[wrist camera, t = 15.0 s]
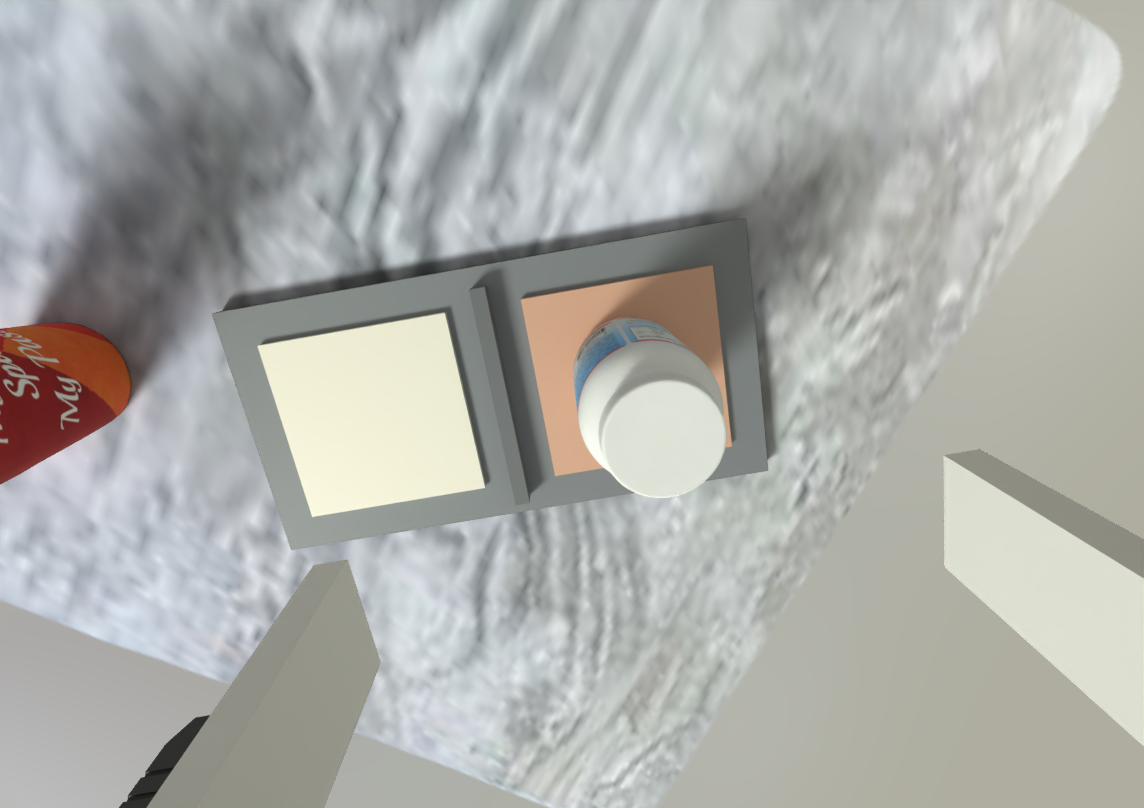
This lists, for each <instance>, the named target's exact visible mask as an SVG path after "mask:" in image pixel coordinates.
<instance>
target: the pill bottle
mask: <svg viewBox="0 0 1144 808" xmlns="http://www.w3.org/2000/svg"><path fill="white" fill-rule="evenodd" d="M573 384H574V391H575V399H576V406H577V414H578V422H579V428H580V431H581V435H582V438H583V440H584V443H585V445H586V447H587V448H588V450H589V452H590V453H591V455H592V456H593V457H594V458H595V460H596V461H597V462H598V463H599V464H600V465H601V466H602V467H603V468H605V469H606V470H607V471H609V472H610V473H611V474H612V475H613V476H614V477H615V479H616V480H617V481H618V482H619V483H620V484H622V485H623V486H624V487H626V488H627V489H629V490H631V491H633V492H635V493H637V494H640V495H643V496H647V497H653V498H668V497H674V496H678V495H682V494H685V493H687V492H689V491H691V490H693V489H695V488H696V487H698V486H699V485H701V484H702V483H703V482H705V481H706V480H707V479H708V478H709V477H710V476H711V475H712V474H713V472H714V471H715V470H716V468H717V466H718V465H719V463H720V461H721V459H722V457H723V454H724V451H725V447H726V440H727V430H726V423H725V419H724V406H723V398H722V394H721V390H720V387H719V385H718V383H717V381H716V379H715V377H714V375H713V373H712V372H711V370H710V369H709V368H708V367H707V366H706V364H705V363H704V362H703V361H702V360H701V359H700V358H699V357H698V356H697V355H695V354H694V353H693V352H692V351H691V350H690V349H689V348H687V347H686V346H685V345H684V344H683V343H682V342H681V341H680V340H678V339H677V338H676V337H675V336H674V335H673V334H672V333H671V332H669V331H668V330H667V329H666V328H664V327H663V326H661V325H660V324H658V323H656V322H654V321H651V320H648V319H645V318H640V317H622V318H617V319H614V320H611V321H608V322H606V323H604V324H602V325H601V326H599V327H597V328H596V329H595V330H594V331H592V332H591V333H590V334H589V335H588V336H587V337H586V339H585V340H584V341H583V343H582V344H581V346H580V348H579V350H578V352H577V354H576V357H575V361H574V366H573Z"/></svg>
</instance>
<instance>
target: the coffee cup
mask: <svg viewBox="0 0 1144 808" xmlns="http://www.w3.org/2000/svg"><path fill="white" fill-rule="evenodd" d="M130 393H131V378H130V373H129V370H128V367H127V365H126V363H125V361H124V359H123V357H122V355H121V354H120V353H119V351H118V350H117V349H116V348H115V346H114V345H113V344H112V343H111V342H110V341H108V340H107V339H106V338H105V337H103V336H102V335H100V334H99V333H97V332H95V331H94V330H92V329H89V328H87V327H84V326H81V325H77V324H71V323H50V324H39V325H29V326H20V327H11V328H3V329H0V484H2V483H4V482H6V481H8V480H10V479H11V478H13V477H15V476H17V475H19V474H21V473H22V472H24V471H26V470H28V469H29V468H31V467H33V466H34V465H36V464H38V463H39V462H41V461H43V460H45V459H47V458H48V457H50V456H52V455H54V454H56V453H57V452H59V451H61V450H63V449H65V448H66V447H68V446H70V445H72V444H74V443H75V442H77V441H79V440H81V439H82V438H84V437H86V436H88V435H89V434H91V433H93V432H95V431H96V430H98V429H100V428H101V427H103V426H105V425H106V424H108V423H109V422H111V421H112V420H114V419H115V418H116V417H117V416H118V415H119V414H120V413H121V412H122V411H123V410H124V408H125V407H126V405H127V403H128V401H129V397H130Z"/></svg>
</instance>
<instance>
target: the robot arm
mask: <svg viewBox="0 0 1144 808" xmlns="http://www.w3.org/2000/svg"><path fill="white" fill-rule="evenodd" d="M944 566H945V568H946V569H948V570H949V571H950V572H951V573H952V574H953V575H954V576H955V577H956V578H958V579H959V580H960V581H961V582H962V583H963V584H964V585H965V586H966V587H968V588H969V589H970V590H971V591H972V592H973V593H974V594H976V596H978V597H979V598H980V599H981V600H982V601H983V602H984V603H985V604H986V605H988V606H989V607H990V608H991V609H992V610H993V611H994V612H996V614H998V615H999V616H1000V617H1001V618H1002V619H1003V620H1004V621H1005V622H1006V623H1008V624H1009V625H1010V626H1011V627H1012V628H1013V629H1014V630H1015V631H1016V632H1018V633H1019V634H1020V635H1021V636H1022V637H1023V638H1024V639H1025V640H1026V641H1028V642H1029V643H1030V644H1031V645H1032V646H1033V647H1034V648H1035V649H1036V650H1037V651H1039V652H1040V653H1041V654H1042V655H1043V656H1044V657H1045V658H1047V660H1049V661H1050V662H1051V663H1052V664H1053V665H1054V666H1056V668H1057V669H1059V670H1060V671H1061V672H1062V673H1063V674H1064V675H1065V676H1066V677H1067V678H1069V679H1070V680H1071V681H1072V682H1073V683H1074V684H1076V686H1077V687H1079V688H1080V689H1081V690H1082V691H1083V692H1084V693H1085V694H1086V695H1087V696H1089V697H1090V698H1091V699H1092V700H1093V701H1094V702H1095V703H1097V705H1099V706H1100V707H1101V708H1102V709H1103V710H1104V711H1105V712H1106V713H1107V714H1108V715H1110V716H1111V717H1112V718H1113V719H1114V720H1115V721H1116V722H1117V723H1118V724H1120V725H1121V726H1122V727H1123V728H1124V729H1125V730H1126V731H1127V732H1129V733H1130V734H1131V735H1132V736H1133V737H1134V738H1135V739H1136V740H1137V741H1138V742H1140V743H1141V744H1142V745H1143V746H1144V539H1142V538H1140V537H1138V536H1137V535H1135V534H1133V533H1131V532H1129V531H1128V530H1126V529H1124V528H1122V527H1120V526H1119V525H1117V524H1115V523H1113V522H1111V521H1109V520H1108V519H1106V518H1104V517H1102V516H1100V515H1099V514H1097V513H1095V512H1093V511H1091V510H1089V509H1087V508H1086V507H1084V506H1082V505H1080V504H1078V503H1077V502H1075V501H1073V500H1071V499H1069V498H1067V497H1066V496H1064V495H1062V494H1060V493H1058V492H1057V491H1055V490H1053V489H1051V488H1049V487H1047V486H1046V485H1044V484H1042V483H1040V482H1038V481H1037V480H1035V479H1033V478H1031V477H1029V476H1028V475H1026V474H1024V473H1022V472H1020V471H1018V470H1017V469H1015V468H1013V467H1011V466H1009V465H1008V464H1006V463H1003V462H1002V461H1000V460H998V459H997V458H995V457H993V456H991V455H989V454H988V453H986V452H984V451H982V450H980V449H978V450H972V451H967V452H961V453H955V454H949V455H944ZM380 663H381V662H380V659H379V656H378V652H377V649H376V646H375V643H374V640H373V637H372V634H371V631H370V628H369V625H368V621H367V618H366V615H365V612H364V609H363V606H362V603H361V600H360V597H359V594H358V590H357V587H356V584H355V581H354V578H353V575H352V572H351V569H350V566H349V563H348V560H342V561H336V562H331V563H325V564H319V565H314V566H313V567H312V569H311V570H310V571H309V573H308V574H307V576H306V577H305V579H304V580H303V582H302V583H301V585H300V586H299V587H298V589H297V590H296V592H295V593H294V595H293V596H292V598H291V599H290V600H289V602H288V603H287V605H286V606H285V608H284V609H283V611H282V612H281V613H280V615H279V616H278V618H277V619H276V621H275V622H274V624H273V625H272V627H271V628H270V629H269V631H268V632H267V634H266V635H265V637H264V638H263V640H262V641H261V642H260V644H259V645H258V647H257V648H256V650H255V651H254V653H253V654H252V656H251V657H250V658H249V660H248V661H247V663H246V664H245V666H244V667H243V669H242V670H241V671H240V673H239V674H238V676H237V677H236V679H235V680H234V682H233V683H232V684H231V686H230V688H229V689H228V690H227V692H226V693H225V695H224V696H223V698H222V699H221V701H220V702H219V703H218V705H217V706H216V708H215V709H214V711H213V712H212V714H211V715H209V716H203V717H198V718H195V719H194V720H192V721H191V722H190V723H189V724H188V725H187V726H186V727H184V728H183V729H182V730H181V731H180V732H179V733H178V734H177V735H175V736H174V737H173V738H172V739H171V740H170V741H169V742H168V743H167V744H166V745H165V746H164V748H163V749H162V750H161V751H160V753H159V754H158V756H157V757H156V758H155V760H154V761H153V762H152V764H151V765H150V767H149V768H148V769H147V771H146V772H145V773H146V775H145V777H143V778H141V779H140V780H139V781H138V783H137V784H136V785H135V787H134V788H133V790H132V791H131V792H130V794H129V795H128V800H127V802H123V803H122V804H121V806H120V807H119V808H324V806H325V804H326V802H327V799H328V796H329V794H330V791H331V789H332V786H333V784H334V781H335V779H336V776H337V773H338V771H339V768H340V766H341V763H342V761H343V758H344V755H345V753H346V750H347V748H348V745H349V742H350V740H351V737H352V735H353V732H354V730H355V727H356V725H357V722H358V720H359V717H360V714H361V712H362V709H363V707H364V704H365V702H366V699H367V696H368V694H369V691H370V689H371V686H372V684H373V681H374V679H375V676H376V673H377V671H378V668H379V666H380Z"/></svg>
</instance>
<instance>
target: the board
mask: <svg viewBox="0 0 1144 808" xmlns="http://www.w3.org/2000/svg"><path fill="white" fill-rule="evenodd" d="M212 316H213V319H214V322H215V325H216V328H217V331H218V334H219V337H220V340H221V343H222V346H223V349H224V352H225V355H226V358H227V361H228V364H229V367H230V370H231V373H232V376H233V379H234V382H235V385H236V388H237V390H238V393H239V396H240V399H241V402H242V405H243V408H244V411H245V414H246V417H247V420H248V423H249V426H250V429H251V432H252V435H253V438H254V441H255V444H256V447H257V450H258V453H259V456H260V459H261V462H262V465H263V468H264V471H265V474H266V477H267V480H268V483H269V485H270V488H271V491H272V494H273V497H274V500H275V503H276V506H277V509H278V512H279V515H280V518H281V521H282V524H283V527H284V530H285V533H286V536H287V539H288V542H289V545H290V548H291V550H295V549H301V548H307V547H313V546H319V545H325V544H331V543H337V542H343V541H349V540H355V539H361V538H367V537H373V536H379V535H385V534H391V533H397V532H403V531H409V530H415V529H421V528H427V527H433V526H439V525H445V524H451V523H457V522H463V521H469V520H475V519H481V518H487V517H493V516H499V515H505V514H511V513H517V512H523V511H529V510H535V509H541V508H547V507H553V506H559V505H565V504H571V503H577V502H583V501H589V500H595V499H601V498H607V497H613V496H619V495H625V494H631V493H635V492H633V491H631V490H629V489H627V488H626V487H624V486H623V485H622V484H620V483H619V482H618V481H617V480H616V479H615V477H614V476H613V475H612V474H611V473H610V472H609V471H607V470H606V469H605V468H603V467H602V466H601V465H600V464H599V463H598V462H597V461H596V460H595V458H594V457H593V456H592V455H591V453H590V452H589V450H588V448H587V447H586V445H585V443H584V440H583V438H582V435H581V431H580V428H579V422H578V414H577V406H576V399H575V391H574V384H573V366H574V361H575V357H576V354H577V352H578V350H579V348H580V346H581V344H582V343H583V341H584V340H585V339H586V337H587V336H588V335H589V334H590V333H591V332H592V331H594V330H595V329H596V328H597V327H599V326H601V325H602V324H604V323H606V322H608V321H611V320H614V319H617V318H622V317H640V318H645V319H648V320H651V321H654V322H656V323H658V324H660V325H661V326H663V327H664V328H666V329H667V330H668V331H669V332H671V333H672V334H673V335H674V336H675V337H676V338H677V339H678V340H680V341H681V342H682V343H683V344H684V345H685V346H686V347H687V348H689V349H690V350H691V351H692V352H693V353H694V354H695V355H697V356H698V357H699V358H700V359H701V360H702V361H703V362H704V363H705V364H706V366H707V367H708V368H709V369H710V370H711V372H712V373H713V375H714V377H715V379H716V381H717V383H718V385H719V387H720V390H721V394H722V398H723V406H724V419H725V423H726V430H727V440H726V447H725V451H724V454H723V457H722V459H721V461H720V463H719V465H718V466H717V468H716V470H715V471H714V472H713V474H712V475H711V476H710V477H709V478H708V479H707V480H706V481H709V480H715V479H721V478H727V477H733V476H739V475H745V474H751V473H757V472H763V471H768V462H767V451H766V440H765V428H764V417H763V406H762V395H761V383H760V372H759V361H758V350H757V339H756V327H755V316H754V305H753V294H752V282H751V271H750V260H749V249H748V238H747V226H746V219H735V220H730V221H724V222H719V223H713V224H707V225H702V226H696V227H690V228H685V229H679V230H674V231H668V232H662V233H657V234H651V235H646V236H640V237H634V238H629V239H623V240H618V241H612V242H606V243H601V244H595V245H590V246H584V247H578V248H573V249H567V250H562V251H556V252H550V253H545V254H539V255H534V256H528V257H522V258H517V259H511V260H505V261H500V262H494V263H489V264H483V265H477V266H472V267H466V268H461V269H455V270H449V271H444V272H438V273H433V274H427V275H421V276H416V277H410V278H405V279H399V280H393V281H388V282H382V283H377V284H371V285H365V286H360V287H354V288H349V289H343V290H337V291H332V292H326V293H321V294H315V295H309V296H304V297H298V298H292V299H287V300H281V301H276V302H270V303H264V304H259V305H253V306H248V307H242V308H236V309H231V310H225V311H220V312H217V313H213V314H212Z"/></svg>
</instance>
